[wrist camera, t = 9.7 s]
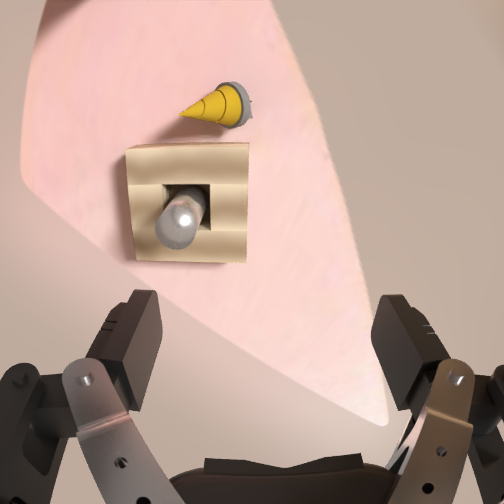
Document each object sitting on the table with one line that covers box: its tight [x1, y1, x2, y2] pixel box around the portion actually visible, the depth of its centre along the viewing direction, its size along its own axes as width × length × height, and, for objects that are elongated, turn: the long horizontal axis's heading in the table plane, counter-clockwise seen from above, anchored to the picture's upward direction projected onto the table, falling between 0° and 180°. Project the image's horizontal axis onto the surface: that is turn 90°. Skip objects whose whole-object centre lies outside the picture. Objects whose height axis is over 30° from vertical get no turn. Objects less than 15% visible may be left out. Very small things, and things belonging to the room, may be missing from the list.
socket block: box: [125, 142, 249, 263], centre depth 39 cm, size 14×14×4 cm
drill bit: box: [179, 82, 253, 128], centre depth 32 cm, size 5×5×10 cm
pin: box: [155, 184, 208, 250], centre depth 35 cm, size 4×4×10 cm
